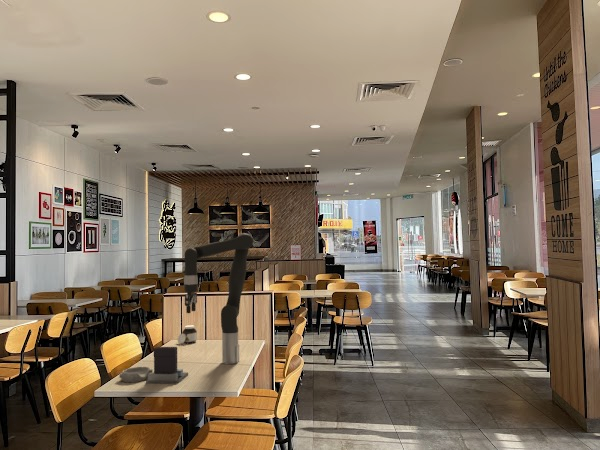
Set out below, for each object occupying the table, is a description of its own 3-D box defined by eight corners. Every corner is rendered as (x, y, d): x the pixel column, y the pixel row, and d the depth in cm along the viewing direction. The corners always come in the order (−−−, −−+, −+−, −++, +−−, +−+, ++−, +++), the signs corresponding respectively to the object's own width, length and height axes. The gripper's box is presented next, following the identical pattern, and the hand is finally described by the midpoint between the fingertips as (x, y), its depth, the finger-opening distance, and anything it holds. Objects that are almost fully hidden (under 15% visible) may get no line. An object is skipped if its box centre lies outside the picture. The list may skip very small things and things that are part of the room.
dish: (155, 376, 251) (155, 366, 251) (140, 383, 237) (140, 373, 238) (130, 375, 254) (130, 365, 254) (114, 382, 241) (114, 372, 241)
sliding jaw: (162, 370, 256) (162, 348, 256) (188, 370, 254) (187, 349, 255) (154, 375, 245) (154, 353, 245) (180, 376, 243) (180, 353, 244)
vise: (158, 375, 253) (158, 366, 253) (188, 375, 251) (188, 366, 251) (146, 383, 237) (146, 374, 238) (177, 383, 236) (177, 374, 236)
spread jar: (198, 341, 344) (198, 325, 344) (191, 345, 333) (191, 327, 333) (183, 341, 347) (183, 325, 347) (175, 344, 336) (175, 327, 336)
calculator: (177, 376, 244) (177, 346, 244) (175, 378, 239) (175, 348, 240) (156, 376, 244) (156, 346, 245) (153, 378, 240) (153, 348, 241)
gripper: (188, 282, 281) (188, 310, 281) (180, 284, 267) (180, 313, 266) (201, 282, 281) (201, 310, 280) (193, 284, 266) (193, 313, 266)
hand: (191, 312), depth 273 cm, fingers open, 8 cm apart
